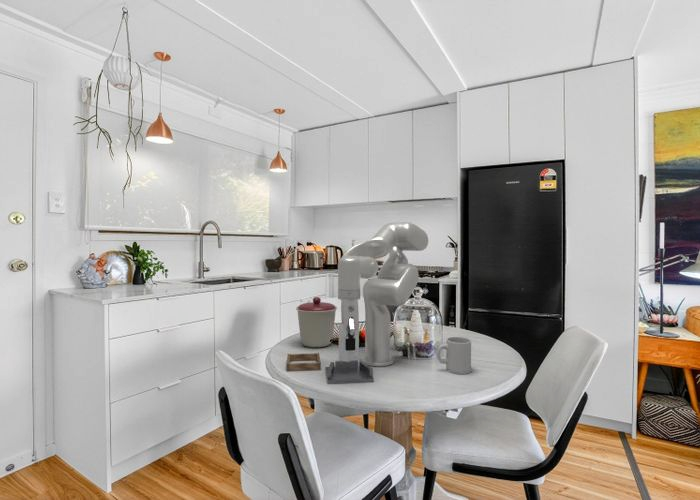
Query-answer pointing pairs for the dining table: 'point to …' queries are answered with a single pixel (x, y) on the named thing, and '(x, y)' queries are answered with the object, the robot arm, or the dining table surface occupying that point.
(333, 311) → the canister
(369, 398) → the dining table surface
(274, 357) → the dining table surface
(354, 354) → the skincare box
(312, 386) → the dining table surface
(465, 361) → the mug
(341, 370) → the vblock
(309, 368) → the walnut collar
